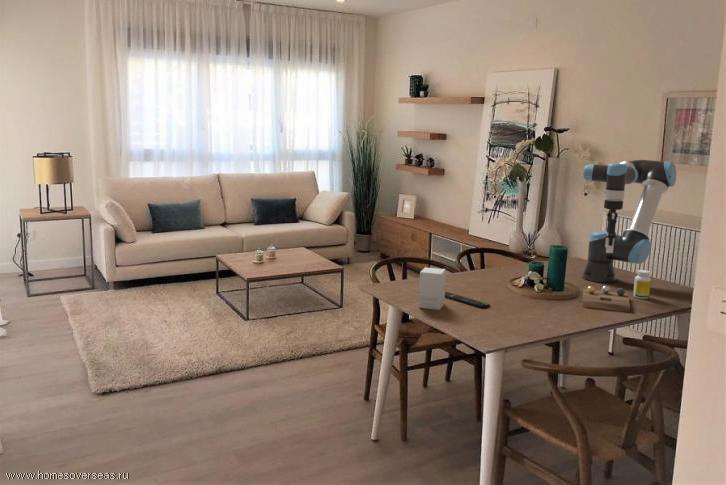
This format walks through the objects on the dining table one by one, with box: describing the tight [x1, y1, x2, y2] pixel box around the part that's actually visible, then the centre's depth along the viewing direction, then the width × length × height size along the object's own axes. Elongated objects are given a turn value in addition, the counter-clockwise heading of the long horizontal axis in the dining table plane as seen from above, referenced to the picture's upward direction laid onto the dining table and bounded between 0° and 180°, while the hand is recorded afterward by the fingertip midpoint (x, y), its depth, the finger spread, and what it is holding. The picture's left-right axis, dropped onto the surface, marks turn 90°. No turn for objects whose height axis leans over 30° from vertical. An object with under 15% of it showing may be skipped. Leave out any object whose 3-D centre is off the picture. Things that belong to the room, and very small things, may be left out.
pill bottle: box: [632, 269, 652, 300], centre depth 277 cm, size 6×6×12 cm
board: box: [581, 287, 631, 313], centre depth 269 cm, size 20×18×2 cm
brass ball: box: [586, 285, 596, 294], centre depth 273 cm, size 3×3×3 cm
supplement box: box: [418, 266, 447, 311], centre depth 258 cm, size 9×9×15 cm
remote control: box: [445, 291, 491, 310], centre depth 267 cm, size 5×24×1 cm, turn 42°
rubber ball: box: [616, 287, 626, 295], centre depth 271 cm, size 3×3×3 cm
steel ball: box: [601, 285, 611, 293], centre depth 274 cm, size 3×3×3 cm
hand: (608, 250), depth 278 cm, fingers open, 10 cm apart
